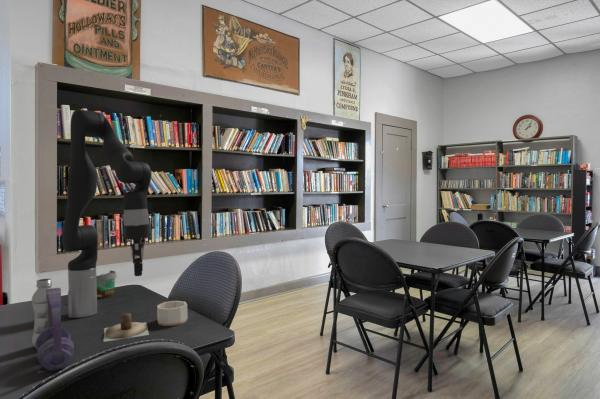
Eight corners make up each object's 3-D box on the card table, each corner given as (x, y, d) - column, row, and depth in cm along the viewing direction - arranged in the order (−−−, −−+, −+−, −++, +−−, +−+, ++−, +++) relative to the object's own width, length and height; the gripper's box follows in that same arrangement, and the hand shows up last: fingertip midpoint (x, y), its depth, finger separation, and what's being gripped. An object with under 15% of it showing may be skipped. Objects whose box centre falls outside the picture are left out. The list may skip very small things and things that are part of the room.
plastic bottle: (40, 343, 122) (38, 277, 121) (63, 342, 122) (61, 277, 122) (27, 351, 115) (25, 282, 115) (52, 350, 116) (50, 282, 115)
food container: (104, 300, 168) (104, 276, 168) (91, 299, 169) (91, 276, 169) (123, 292, 180) (122, 270, 180) (111, 292, 181) (110, 270, 181)
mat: (103, 343, 121) (103, 341, 121) (104, 329, 133) (104, 328, 133) (149, 335, 127) (149, 334, 127) (146, 323, 139) (146, 322, 138)
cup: (159, 328, 133) (158, 310, 133) (156, 319, 142) (156, 303, 142) (189, 324, 137) (189, 306, 137) (184, 315, 146) (184, 299, 146)
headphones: (35, 355, 113) (33, 285, 112) (68, 348, 118) (66, 280, 117) (39, 380, 98) (36, 299, 97) (77, 370, 103) (75, 293, 102)
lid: (105, 340, 122) (104, 323, 122) (106, 328, 133) (105, 312, 133) (147, 334, 127) (146, 317, 127) (144, 322, 138) (144, 307, 138)
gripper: (125, 223, 134) (127, 271, 134) (122, 225, 121) (124, 278, 121) (149, 221, 137) (151, 269, 137) (148, 223, 124) (151, 276, 124)
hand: (138, 273), depth 129 cm, fingers open, 8 cm apart
